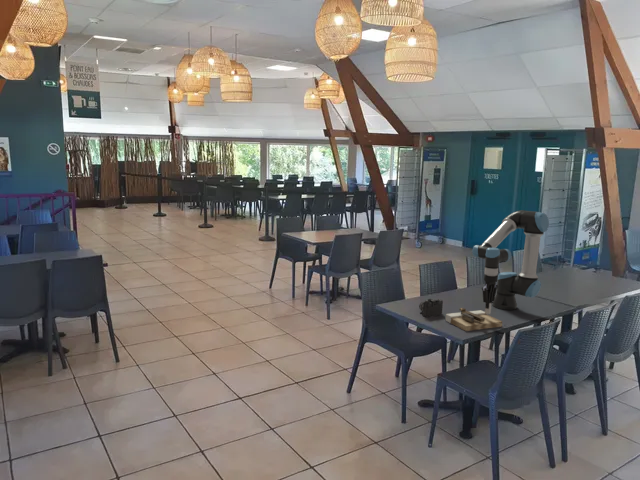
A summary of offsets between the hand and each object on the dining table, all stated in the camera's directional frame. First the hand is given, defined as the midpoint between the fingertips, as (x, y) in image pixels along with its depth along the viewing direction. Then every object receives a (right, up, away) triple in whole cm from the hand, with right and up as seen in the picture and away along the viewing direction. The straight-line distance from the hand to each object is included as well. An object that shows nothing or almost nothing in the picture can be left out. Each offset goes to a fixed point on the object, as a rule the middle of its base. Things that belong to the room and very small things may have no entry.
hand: (487, 313), depth 298 cm
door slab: (-7, -7, 0) cm, 10 cm away
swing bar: (-10, -2, 0) cm, 10 cm away
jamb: (-10, -5, +9) cm, 14 cm away
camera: (-31, -3, +18) cm, 36 cm away
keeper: (-13, -4, -3) cm, 13 cm away
